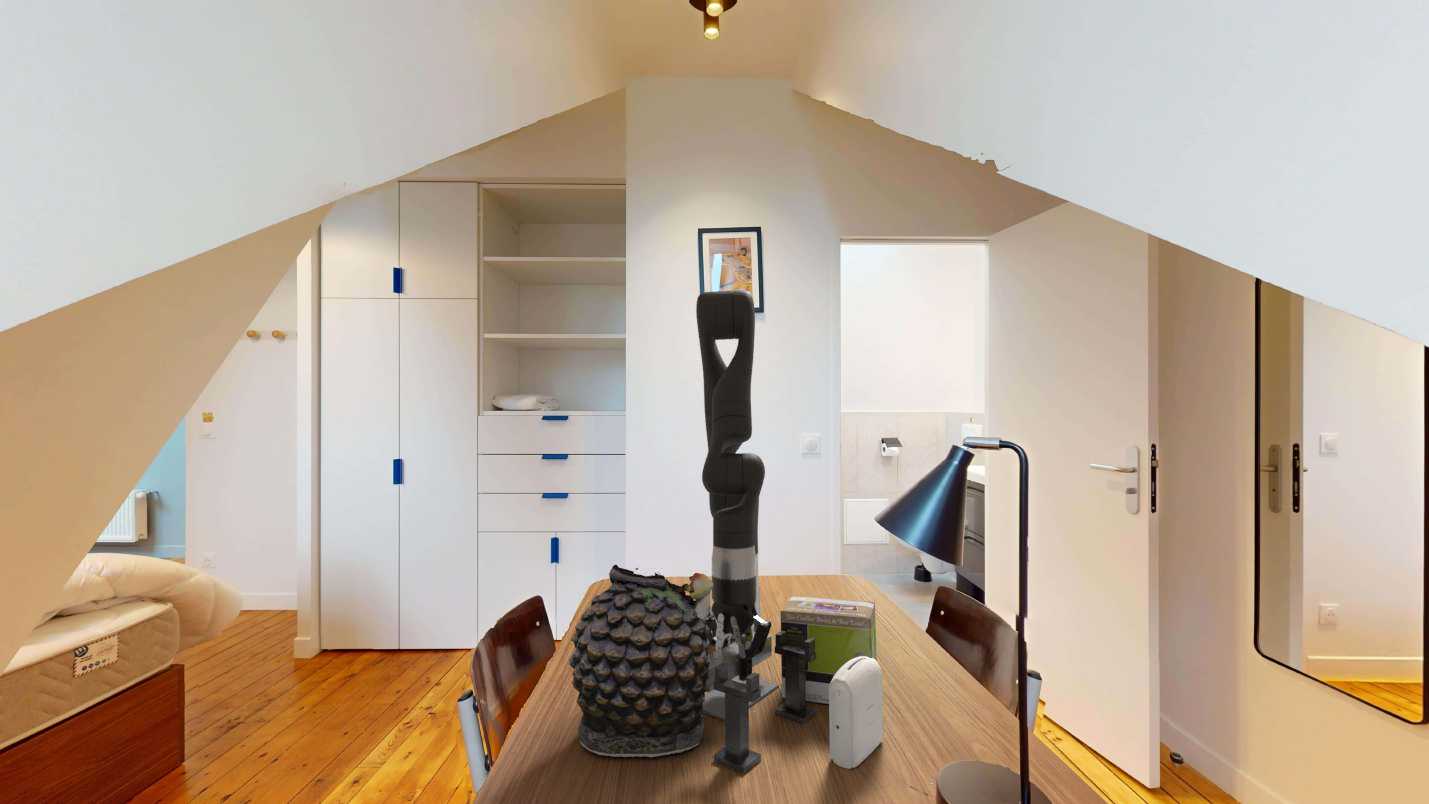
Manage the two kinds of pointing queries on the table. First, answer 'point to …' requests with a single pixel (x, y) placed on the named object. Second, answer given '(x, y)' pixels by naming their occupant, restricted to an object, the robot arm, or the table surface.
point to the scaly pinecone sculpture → (643, 665)
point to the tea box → (828, 637)
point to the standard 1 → (737, 720)
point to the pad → (716, 699)
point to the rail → (734, 660)
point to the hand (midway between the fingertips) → (734, 675)
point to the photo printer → (855, 711)
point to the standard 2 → (795, 678)
